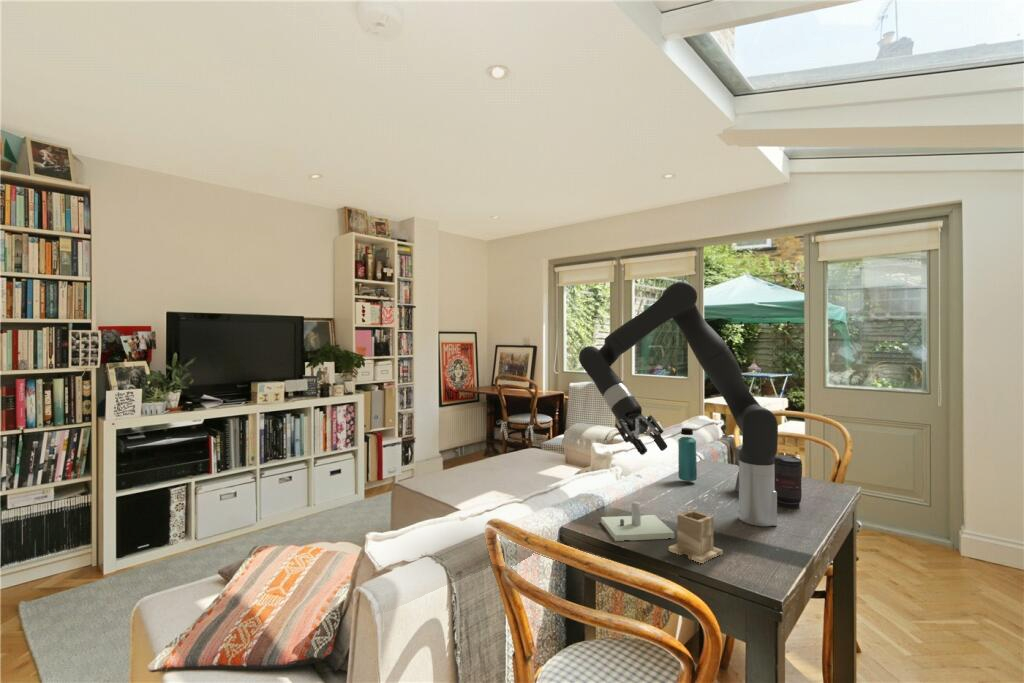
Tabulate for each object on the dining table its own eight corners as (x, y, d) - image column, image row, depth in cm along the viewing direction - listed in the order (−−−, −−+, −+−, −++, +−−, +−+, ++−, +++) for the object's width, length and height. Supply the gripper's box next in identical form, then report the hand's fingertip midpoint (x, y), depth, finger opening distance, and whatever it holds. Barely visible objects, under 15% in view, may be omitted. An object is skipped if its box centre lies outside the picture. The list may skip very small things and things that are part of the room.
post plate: (654, 520, 139) (654, 494, 139) (674, 538, 126) (674, 509, 126) (600, 522, 138) (600, 496, 138) (615, 541, 125) (615, 512, 125)
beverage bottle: (698, 485, 172) (698, 430, 172) (679, 484, 174) (679, 429, 174) (695, 480, 179) (695, 427, 179) (676, 479, 180) (676, 426, 180)
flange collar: (689, 541, 124) (689, 507, 124) (722, 554, 117) (722, 517, 117) (668, 550, 119) (668, 514, 119) (701, 564, 112) (701, 525, 112)
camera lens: (786, 510, 147) (786, 461, 147) (767, 501, 155) (767, 455, 155) (808, 508, 149) (808, 460, 149) (788, 500, 157) (788, 454, 157)
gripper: (612, 396, 130) (646, 446, 121) (645, 393, 139) (679, 439, 130) (597, 413, 135) (629, 462, 126) (630, 409, 143) (662, 455, 134)
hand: (654, 451), depth 128 cm, fingers open, 8 cm apart
